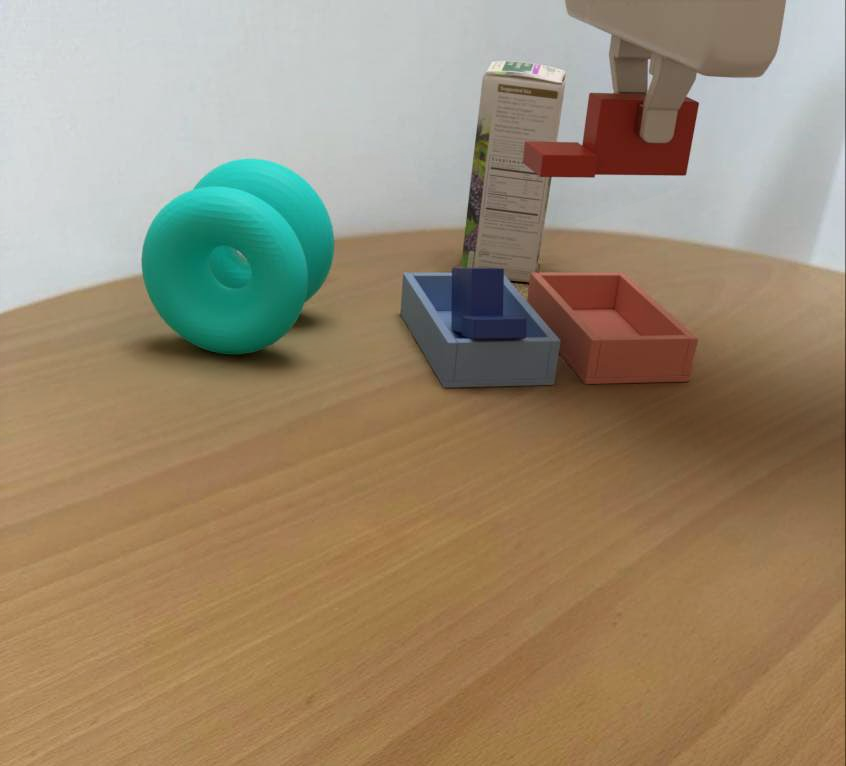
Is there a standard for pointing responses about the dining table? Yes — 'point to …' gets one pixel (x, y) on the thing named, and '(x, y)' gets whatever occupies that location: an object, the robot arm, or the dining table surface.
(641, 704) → the dining table surface
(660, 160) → the two-tier red step
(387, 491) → the dining table surface
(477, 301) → the dark blue l-shaped piece
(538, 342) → the blue bin
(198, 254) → the turquoise yo-yo
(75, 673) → the dining table surface
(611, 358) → the red bin
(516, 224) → the syrup box
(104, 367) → the dining table surface
